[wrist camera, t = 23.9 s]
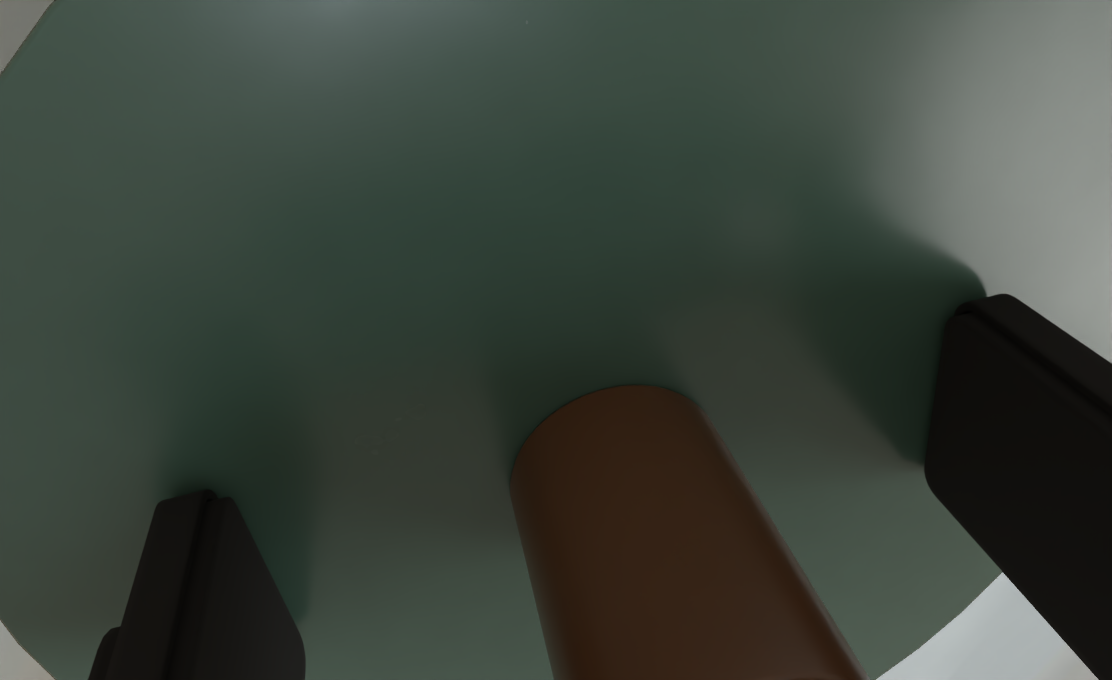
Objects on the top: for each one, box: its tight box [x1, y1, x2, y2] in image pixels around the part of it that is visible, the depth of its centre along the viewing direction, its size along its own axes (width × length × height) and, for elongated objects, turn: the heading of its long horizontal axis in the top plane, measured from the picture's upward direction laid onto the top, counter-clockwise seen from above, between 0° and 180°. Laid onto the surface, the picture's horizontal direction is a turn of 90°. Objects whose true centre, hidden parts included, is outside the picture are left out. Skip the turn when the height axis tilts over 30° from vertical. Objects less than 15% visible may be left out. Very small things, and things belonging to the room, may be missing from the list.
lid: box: [0, 0, 1112, 680], centre depth 9 cm, size 15×15×5 cm
